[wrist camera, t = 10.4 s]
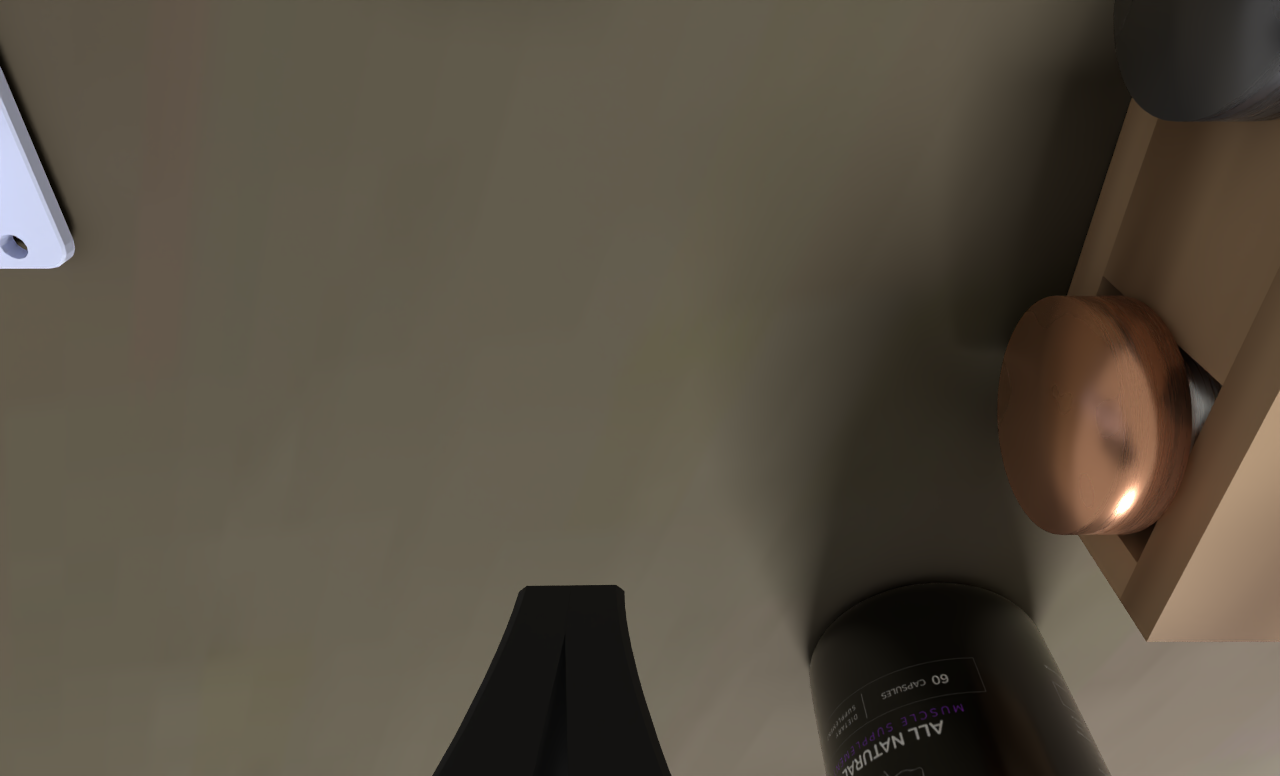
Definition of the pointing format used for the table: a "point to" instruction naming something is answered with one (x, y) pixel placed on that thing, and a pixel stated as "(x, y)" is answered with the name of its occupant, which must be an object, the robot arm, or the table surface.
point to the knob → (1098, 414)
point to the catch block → (1219, 342)
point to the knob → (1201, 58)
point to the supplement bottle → (944, 690)
